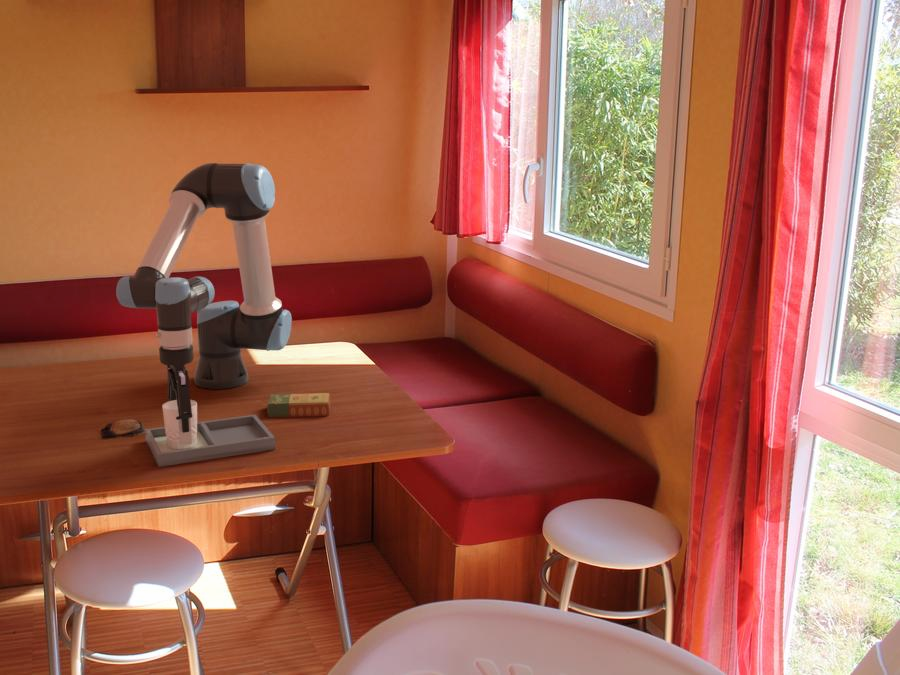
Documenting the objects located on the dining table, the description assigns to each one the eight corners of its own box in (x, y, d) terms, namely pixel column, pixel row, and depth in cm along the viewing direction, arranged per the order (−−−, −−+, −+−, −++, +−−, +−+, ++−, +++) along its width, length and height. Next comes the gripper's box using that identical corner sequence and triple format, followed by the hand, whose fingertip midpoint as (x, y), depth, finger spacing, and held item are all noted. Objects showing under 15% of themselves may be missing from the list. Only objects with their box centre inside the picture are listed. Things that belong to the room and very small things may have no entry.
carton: (329, 417, 258) (329, 401, 257) (267, 418, 257) (266, 402, 256) (330, 406, 266) (330, 391, 265) (270, 408, 265) (269, 392, 264)
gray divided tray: (145, 441, 239) (145, 429, 238) (255, 425, 250) (255, 414, 250) (158, 466, 223) (157, 454, 223) (275, 449, 235) (274, 437, 234)
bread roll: (143, 426, 251) (142, 412, 250) (148, 436, 244) (147, 422, 243) (99, 431, 247) (98, 417, 246) (103, 442, 240) (101, 428, 239)
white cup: (170, 438, 238) (168, 398, 235) (203, 439, 238) (201, 399, 235) (160, 450, 230) (157, 409, 228) (194, 451, 230) (191, 410, 227)
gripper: (151, 336, 236) (157, 425, 241) (167, 359, 217) (174, 455, 222) (183, 333, 239) (188, 421, 244) (202, 355, 220) (207, 450, 225)
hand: (181, 437), depth 233 cm, fingers open, 9 cm apart
